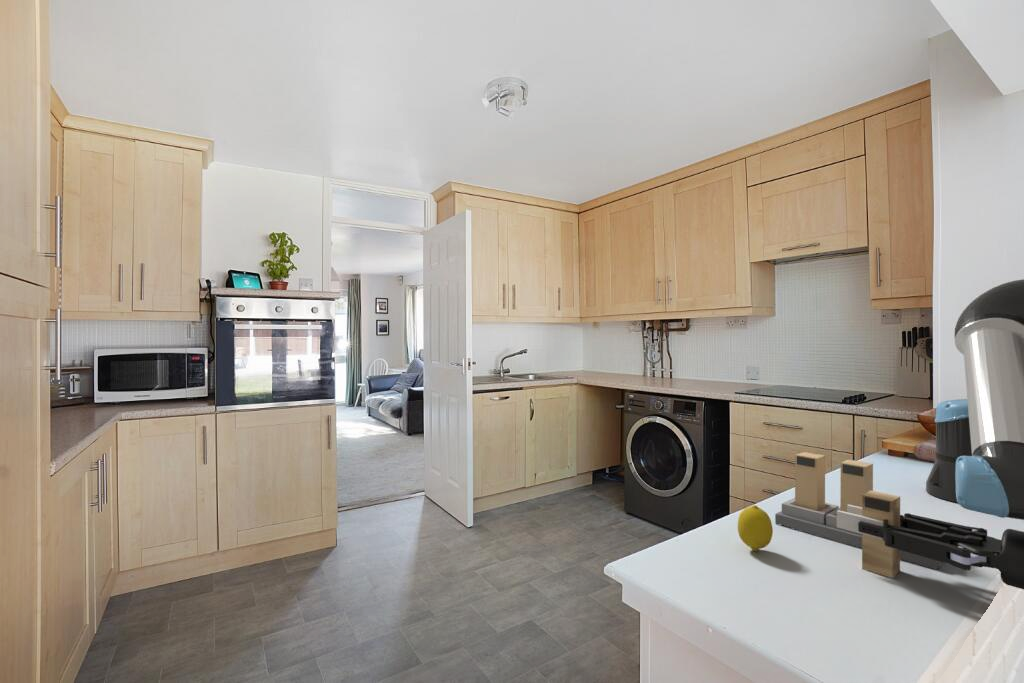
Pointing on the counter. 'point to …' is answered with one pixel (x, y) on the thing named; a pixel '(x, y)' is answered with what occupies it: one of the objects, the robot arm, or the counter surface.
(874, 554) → the oak finger
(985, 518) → the counter surface
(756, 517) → the lemon
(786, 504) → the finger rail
